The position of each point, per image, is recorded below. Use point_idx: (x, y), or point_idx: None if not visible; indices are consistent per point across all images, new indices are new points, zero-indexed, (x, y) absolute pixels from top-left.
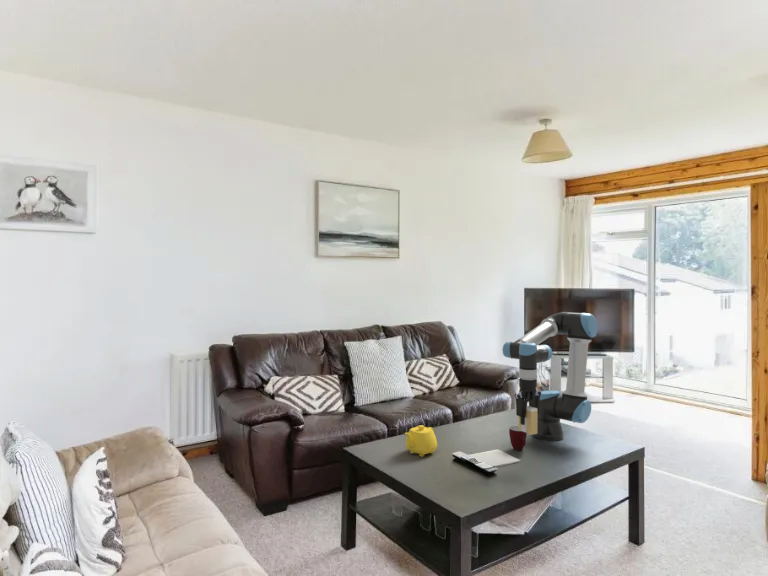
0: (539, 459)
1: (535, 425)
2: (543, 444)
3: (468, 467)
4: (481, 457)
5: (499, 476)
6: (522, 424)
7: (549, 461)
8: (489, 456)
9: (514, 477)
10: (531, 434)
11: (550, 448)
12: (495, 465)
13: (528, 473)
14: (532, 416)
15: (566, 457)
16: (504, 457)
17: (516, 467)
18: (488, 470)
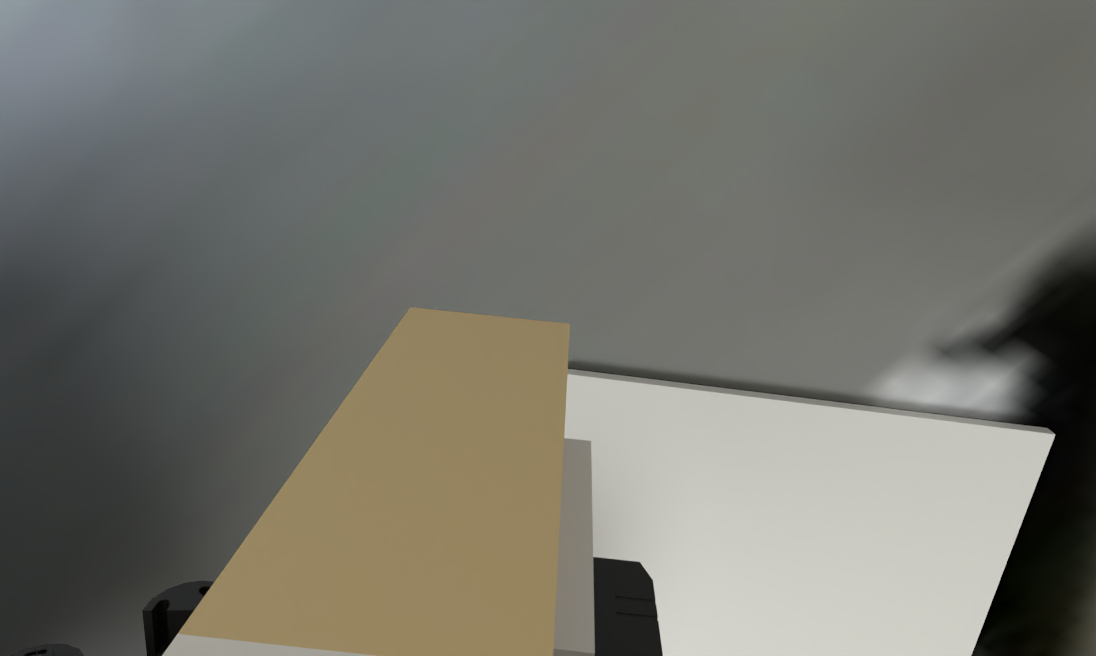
0: (331, 309)
1: (426, 378)
2: (7, 551)
3: (1090, 531)
4: (816, 617)
5: (1059, 213)
6: (643, 576)
7: (276, 213)
8: (731, 596)
9: (959, 104)
10: (563, 323)
11: (12, 449)
12: (879, 415)
13: (740, 99)
14: (496, 534)
15: (22, 191)
16: (630, 508)
17: (710, 287)
18: (1007, 383)
